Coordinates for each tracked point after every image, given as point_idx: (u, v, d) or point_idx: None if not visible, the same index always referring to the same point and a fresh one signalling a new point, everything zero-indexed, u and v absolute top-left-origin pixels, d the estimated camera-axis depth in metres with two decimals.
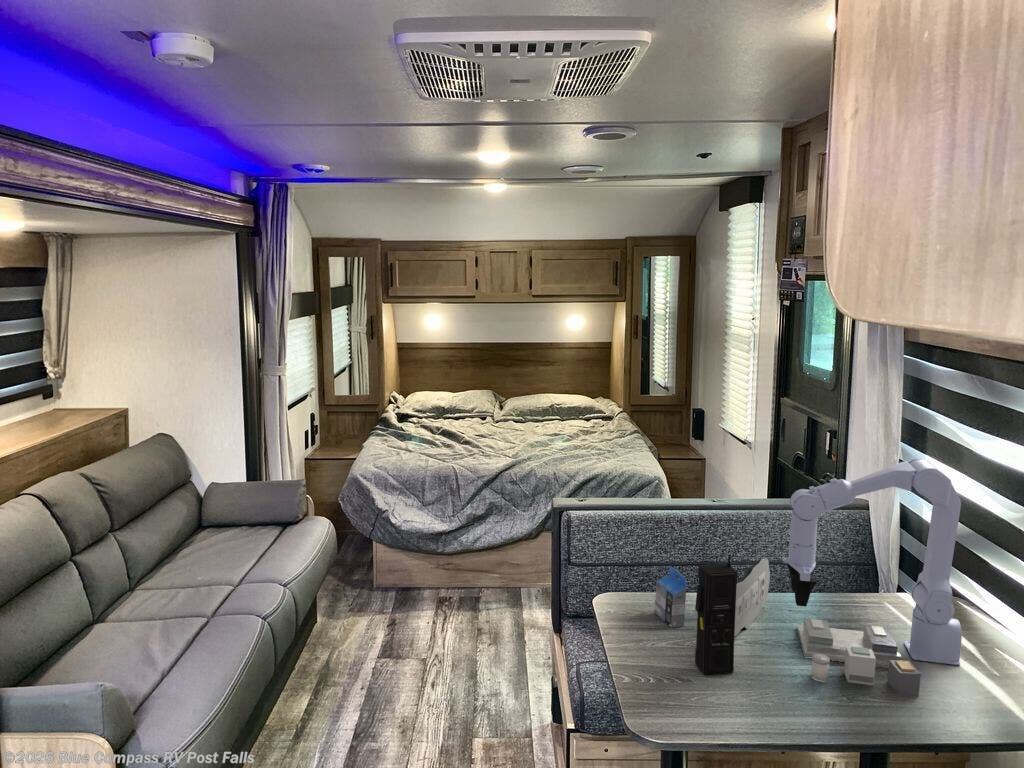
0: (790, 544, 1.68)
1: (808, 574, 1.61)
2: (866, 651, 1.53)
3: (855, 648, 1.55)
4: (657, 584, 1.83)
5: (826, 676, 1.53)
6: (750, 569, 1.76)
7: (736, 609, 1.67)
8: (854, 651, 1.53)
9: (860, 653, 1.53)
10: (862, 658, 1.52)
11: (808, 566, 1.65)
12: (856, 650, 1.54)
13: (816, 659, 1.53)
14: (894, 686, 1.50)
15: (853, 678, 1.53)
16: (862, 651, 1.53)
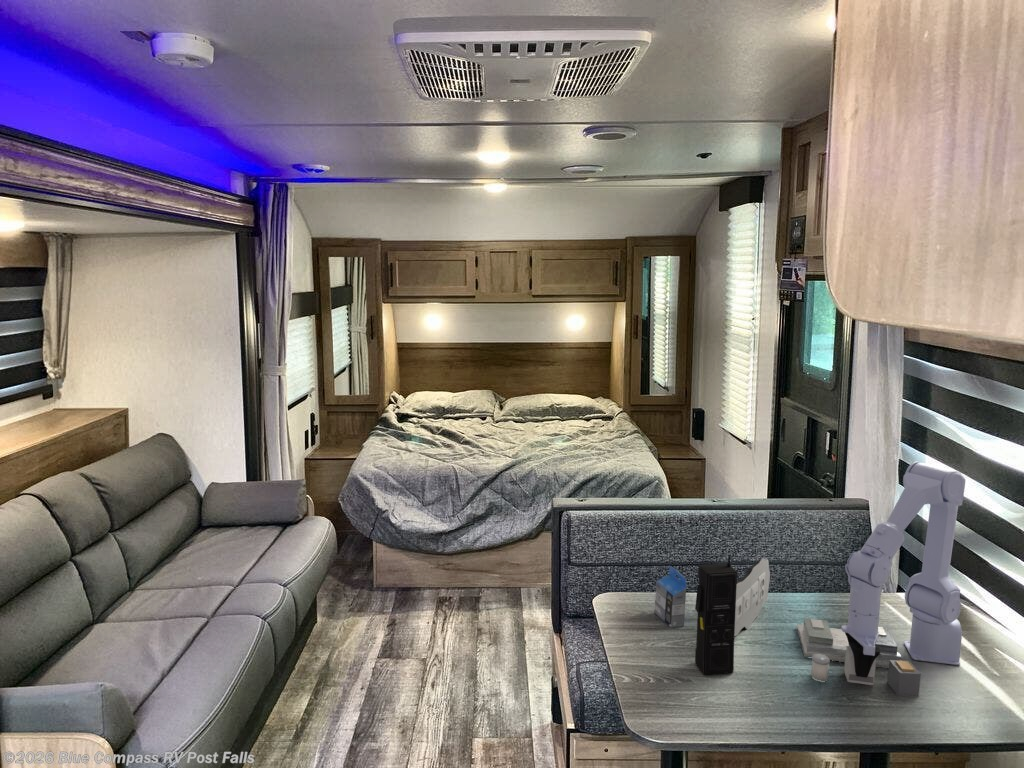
0: (850, 612, 1.52)
1: (873, 648, 1.46)
2: None
3: None
4: (657, 584, 1.83)
5: (826, 676, 1.53)
6: (750, 569, 1.76)
7: (736, 609, 1.67)
8: None
9: None
10: None
11: (871, 637, 1.50)
12: None
13: (816, 659, 1.53)
14: (894, 686, 1.50)
15: (853, 678, 1.53)
16: None
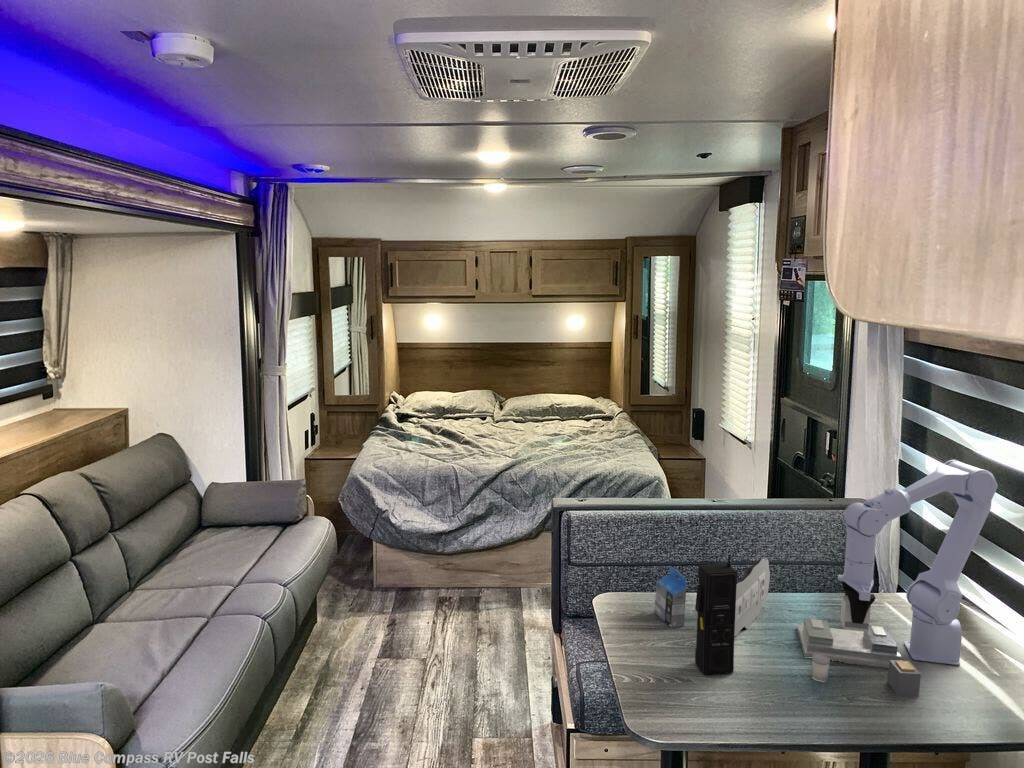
0: (846, 561, 1.59)
1: (868, 593, 1.52)
2: None
3: None
4: (657, 584, 1.83)
5: (826, 676, 1.53)
6: (750, 569, 1.76)
7: (736, 609, 1.67)
8: None
9: None
10: None
11: (866, 584, 1.56)
12: None
13: (816, 659, 1.53)
14: (895, 686, 1.50)
15: (849, 625, 1.59)
16: None
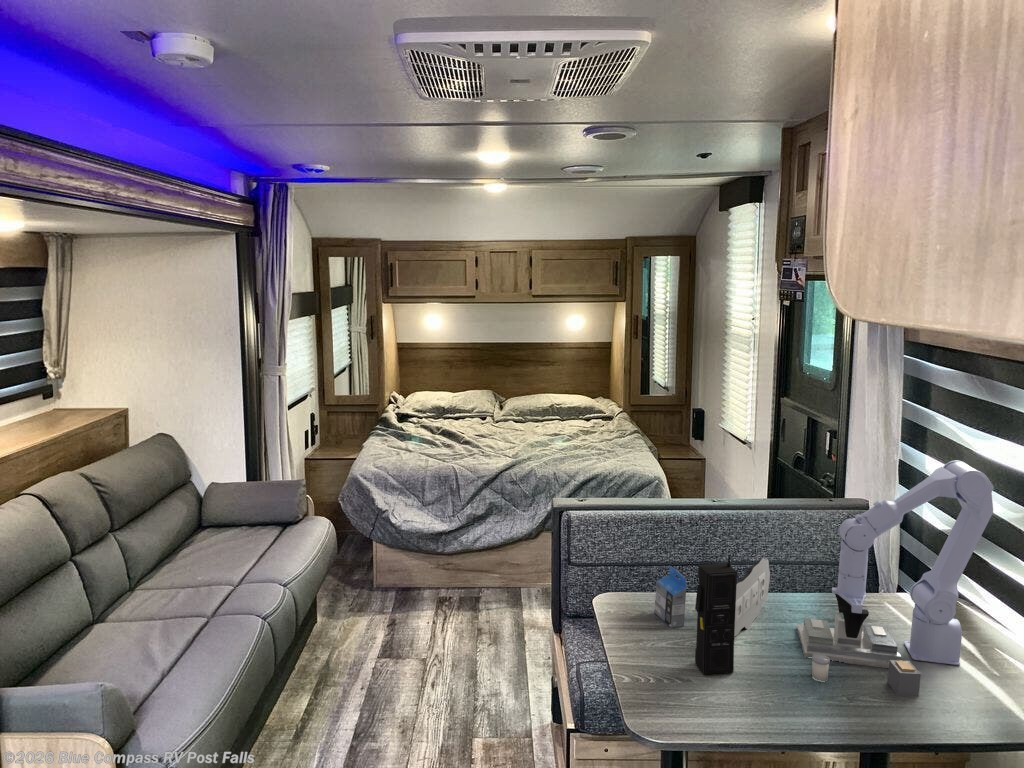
0: (840, 574, 1.65)
1: (860, 606, 1.58)
2: None
3: None
4: (657, 584, 1.83)
5: (826, 676, 1.53)
6: (750, 569, 1.76)
7: (736, 609, 1.67)
8: (843, 616, 1.66)
9: None
10: None
11: (859, 597, 1.62)
12: None
13: (816, 659, 1.53)
14: (895, 686, 1.50)
15: (842, 642, 1.66)
16: None
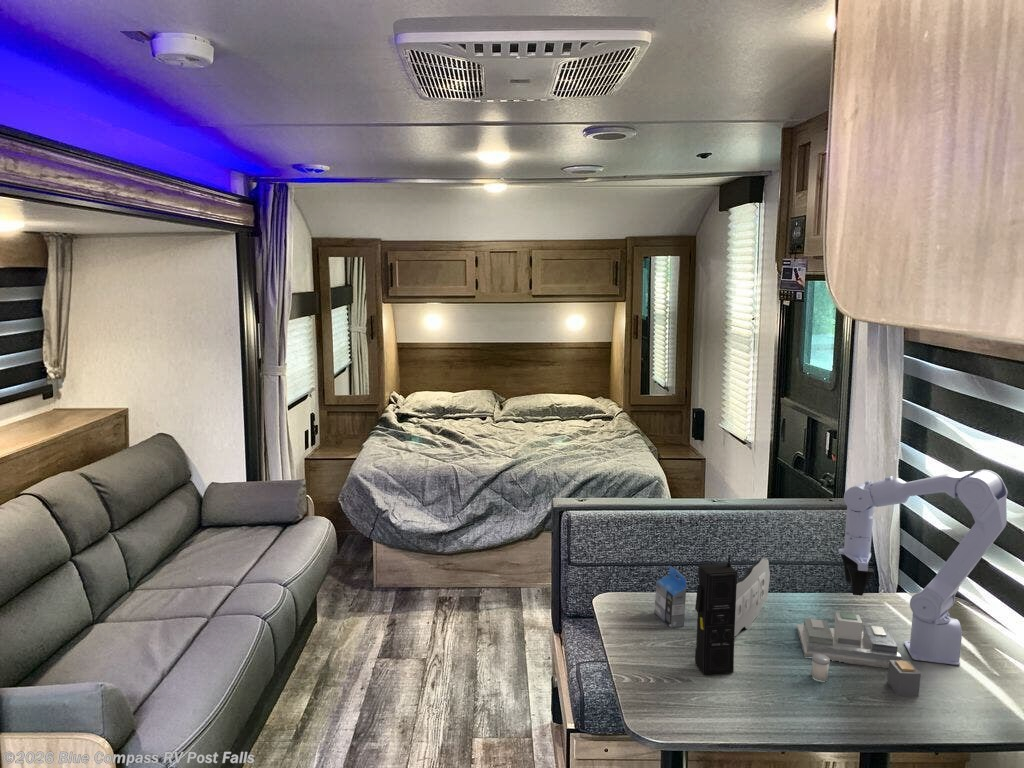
0: (846, 536, 1.74)
1: (866, 564, 1.67)
2: (854, 616, 1.66)
3: (844, 614, 1.67)
4: (657, 584, 1.83)
5: (826, 676, 1.53)
6: (750, 569, 1.76)
7: (736, 609, 1.67)
8: (843, 616, 1.66)
9: (848, 618, 1.66)
10: (850, 623, 1.65)
11: (864, 557, 1.71)
12: (844, 616, 1.67)
13: (816, 659, 1.53)
14: (895, 686, 1.50)
15: (842, 642, 1.66)
16: (850, 616, 1.66)
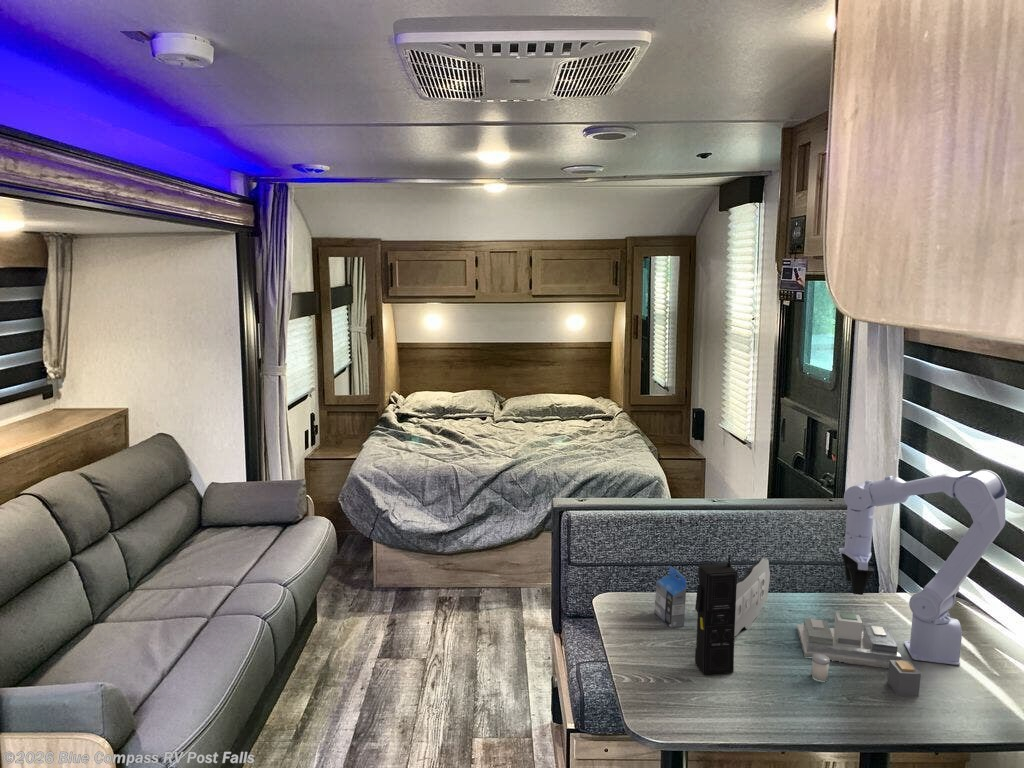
0: (846, 535, 1.74)
1: (866, 563, 1.68)
2: (854, 616, 1.66)
3: (844, 614, 1.67)
4: (657, 584, 1.82)
5: (826, 676, 1.53)
6: (750, 569, 1.76)
7: (736, 609, 1.67)
8: (843, 616, 1.66)
9: (848, 618, 1.66)
10: (850, 623, 1.65)
11: (865, 556, 1.72)
12: (844, 616, 1.67)
13: (816, 659, 1.53)
14: (895, 686, 1.50)
15: (842, 642, 1.66)
16: (850, 616, 1.66)
